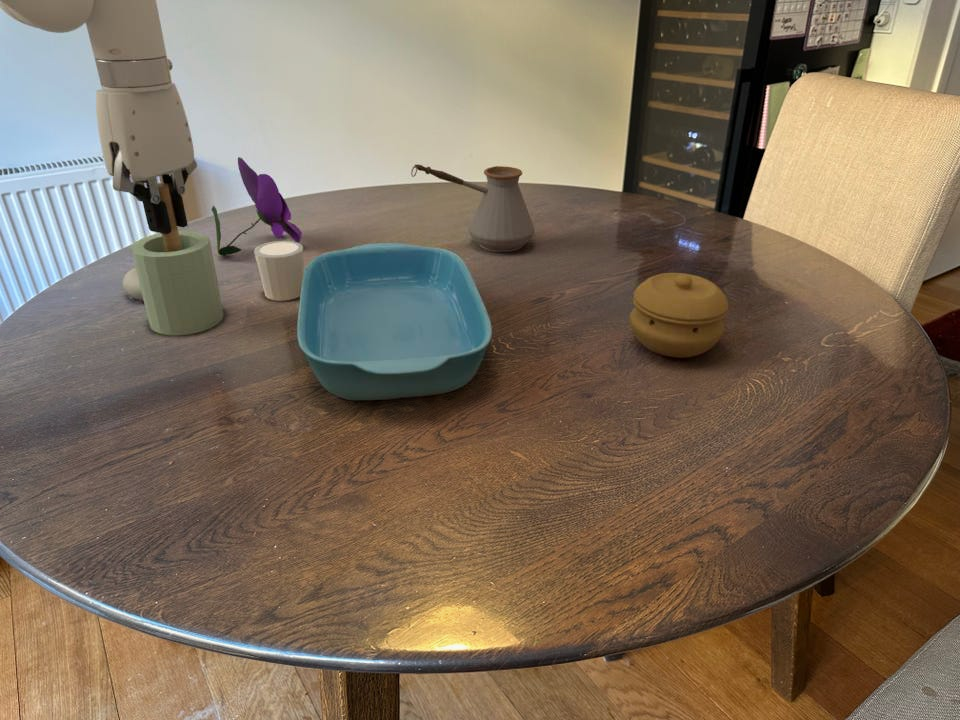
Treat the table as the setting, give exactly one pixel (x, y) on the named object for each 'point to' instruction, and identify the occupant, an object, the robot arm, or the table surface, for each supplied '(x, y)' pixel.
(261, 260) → the white cup
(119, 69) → the robot arm
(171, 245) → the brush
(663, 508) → the table surface
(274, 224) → the flower
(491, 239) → the coffee pot
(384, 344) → the casserole dish
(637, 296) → the pot
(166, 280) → the jar
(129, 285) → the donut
